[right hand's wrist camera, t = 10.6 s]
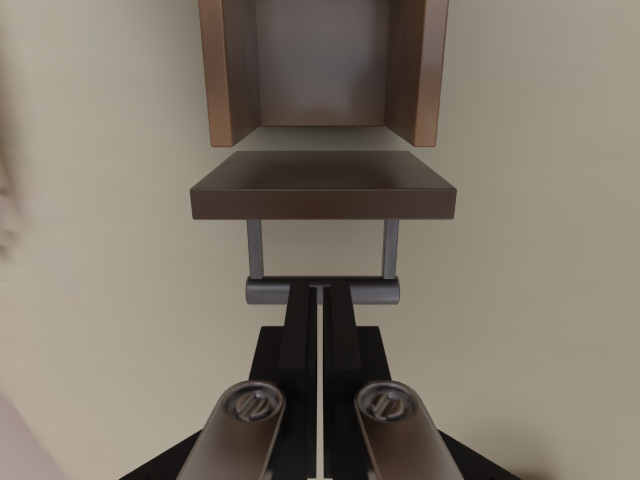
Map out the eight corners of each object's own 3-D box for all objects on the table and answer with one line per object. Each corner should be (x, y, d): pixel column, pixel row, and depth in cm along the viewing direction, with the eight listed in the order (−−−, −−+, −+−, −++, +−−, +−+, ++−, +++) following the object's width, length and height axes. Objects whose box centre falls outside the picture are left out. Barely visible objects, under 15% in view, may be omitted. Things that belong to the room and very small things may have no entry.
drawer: (401, 259, 27) (440, 345, 18) (243, 259, 27) (206, 345, 18) (437, -257, 18) (541, -561, 10) (208, -256, 18) (107, -560, 10)
